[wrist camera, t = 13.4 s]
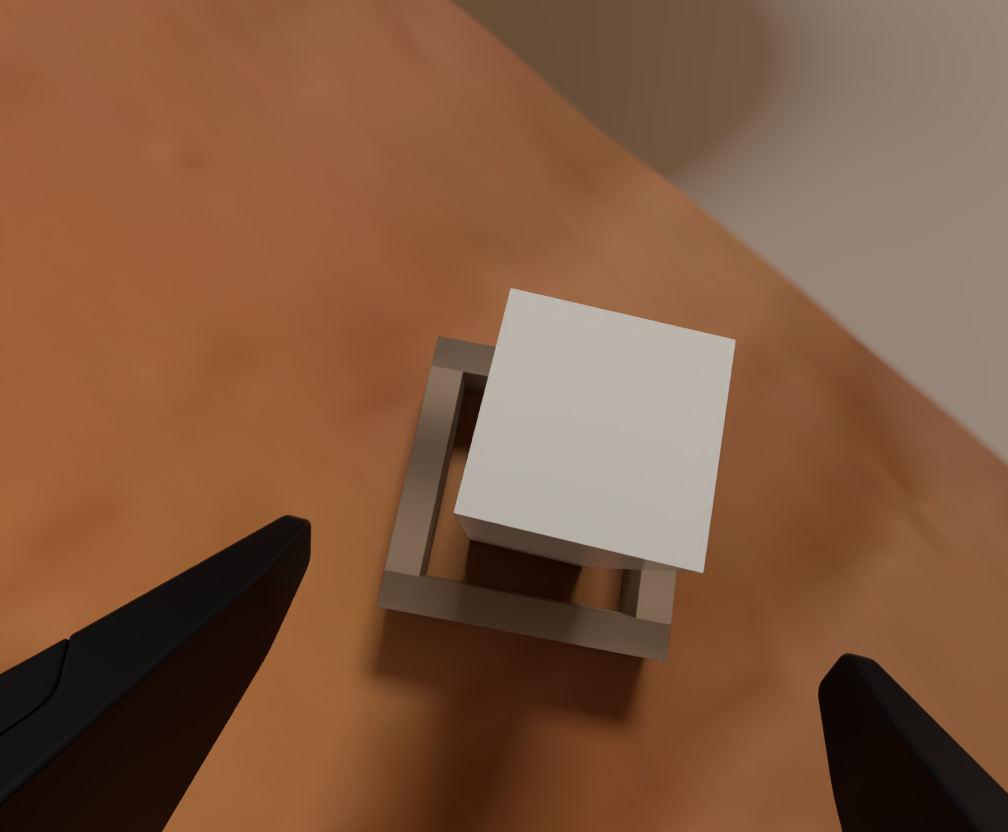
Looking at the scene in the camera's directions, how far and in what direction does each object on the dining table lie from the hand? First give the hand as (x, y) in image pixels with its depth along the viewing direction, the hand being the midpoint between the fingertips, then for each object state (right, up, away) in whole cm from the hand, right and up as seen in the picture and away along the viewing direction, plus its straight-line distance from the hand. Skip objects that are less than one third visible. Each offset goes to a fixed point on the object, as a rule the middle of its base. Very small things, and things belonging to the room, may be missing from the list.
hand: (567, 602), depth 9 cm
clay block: (0, 0, +13) cm, 13 cm away
